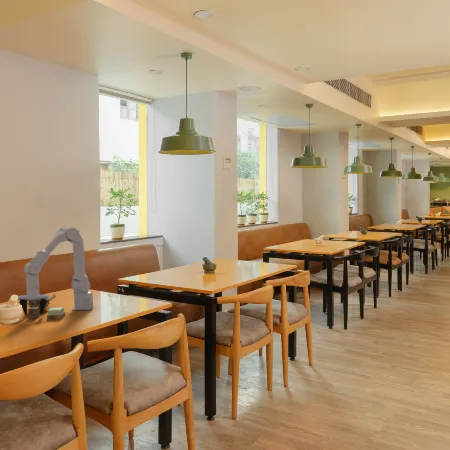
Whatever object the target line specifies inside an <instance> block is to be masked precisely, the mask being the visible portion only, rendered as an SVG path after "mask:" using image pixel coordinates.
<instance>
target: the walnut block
mask: <svg viewBox="0 0 450 450" xmlns="http://www.w3.org/2000/svg"><path fill="white" fill-rule="evenodd" d="M27 315H28V320H38V319H39V318H40V317H41V316H40V315H41V314H40V310H39V307H28V308H27Z"/></svg>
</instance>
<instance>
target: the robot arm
mask: <svg viewBox="0 0 450 450" xmlns="http://www.w3.org/2000/svg"><path fill="white" fill-rule="evenodd" d="M63 242H69V243H70V244H71V245H72V254H73V255H72V256H73V270H74V271H73V272H74V274H73V275H72V277H71V278H72V280H71V283H70V286H71V289H72V290H73V303H74V304H73V308H72V309H71V310H72V311H85V310H86V311H90V310H92V309H93V307H94V294H93V291H90V289H91V283H90V281H89V277H88V275H87V274H86V265H85V262H86V261H85V247H84V246H85V244H84V239H83V237H82V236H81V234H80V230H79V229H77V228H75V227H67V226H62V227H60V228H59V230H57V232H55V235H54V236H53V238H52V239H51V240H50V242H49V243H47V245H46V246H45V248H44V249H40V250H39V251H37V252H36V254H35V255H34V257H33V258H32V259H30V260H29V261H30V262H27V263H26V264H25V266H24V268H23V271H24V273H25V282H26V294H25V295H24V294H23V295H18V296H17V297H18V299H17V301H18V304H19V305H20V306H21V305H22V307H21V309H22V311H23V315H24V316H27V315H28V304H27V303H28V302H29V301H28V300H40V301H39V303H40V310H39V314H40V315H44V311H45V310H44V307H45V304H46V302H47V300H48V299H50V295H49V294H44V295H39V293H40V277H39V276H40V275H39V273H41V271H42V267H43V266H44V264H45V263H46V262H47V261H48V260H49V259H50V254H51V253H52V252H53V251H54V250H55V249H56V248H57V247H58V245H60V244H61V243H63Z"/></svg>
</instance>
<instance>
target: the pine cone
mask: <svg viewBox="0 0 450 450" xmlns="http://www.w3.org/2000/svg"><path fill="white" fill-rule="evenodd" d="M39 295H45V294H44V293H40V292H39ZM56 298H57V294H52V296H50V297H49V299H48V300H47V302H46V304H45V307H44V311H45V310H46V309H48V307H49V306H50V301H53V300H54V299H56ZM39 301H40V300H28V301H27V306H28V308H30V307H39V311H40V303H39Z"/></svg>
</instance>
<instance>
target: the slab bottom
mask: <svg viewBox="0 0 450 450" xmlns="http://www.w3.org/2000/svg"><path fill="white" fill-rule="evenodd" d="M65 317H66V311H64V313H63V314H62V315H49V316H48V314H47V315H46V320H47V321H51V320H63V319H64V318H65Z"/></svg>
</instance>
